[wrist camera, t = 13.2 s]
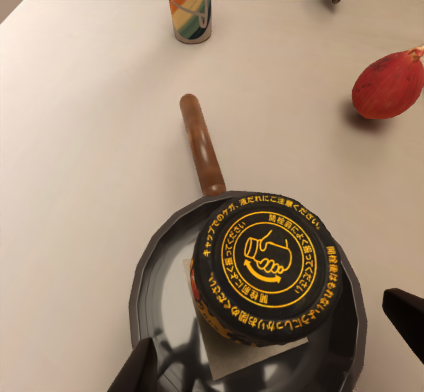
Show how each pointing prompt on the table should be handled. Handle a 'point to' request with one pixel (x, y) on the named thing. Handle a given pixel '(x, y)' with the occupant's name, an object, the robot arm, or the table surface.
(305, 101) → the table surface
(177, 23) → the lotion bottle
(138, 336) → the pan
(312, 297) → the condiment
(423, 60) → the plastic lid
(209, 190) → the pan handle
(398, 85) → the red fruit
